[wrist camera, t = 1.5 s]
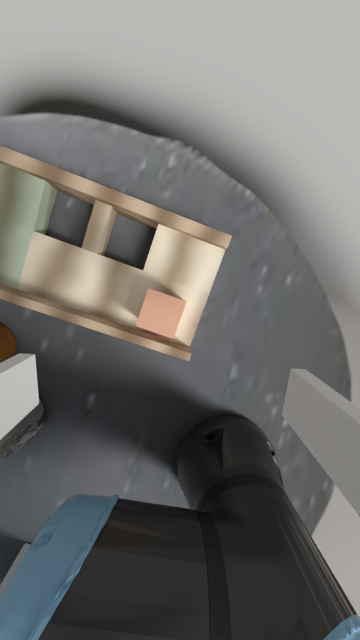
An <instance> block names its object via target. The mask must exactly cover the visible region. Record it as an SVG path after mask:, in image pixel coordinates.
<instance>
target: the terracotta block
mask: <svg viewBox="0 0 360 640" xmlns="http://www.w3.org/2000/svg"><path fill="white" fill-rule="evenodd" d="M185 305H186V301H185V300H182V299H179V298H177V297H174V296H171V295H168V294H165V293H162V292H160V291H157V290H154V289H150V288H148V291H147V294H146V297H145V300H144V303H143V306H142V309H141V312H140V315H139V318H138V321H137V324H136V326H137V327H140V328H142V329H145V330H148V331H151V332H154V333H157V334H160V335H163V336H166V337H169V338H172V339H174V336H175V333H176V330H177V327H178V325H179V322H180V319H181V316H182V313H183V311H184V308H185Z"/></svg>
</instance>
